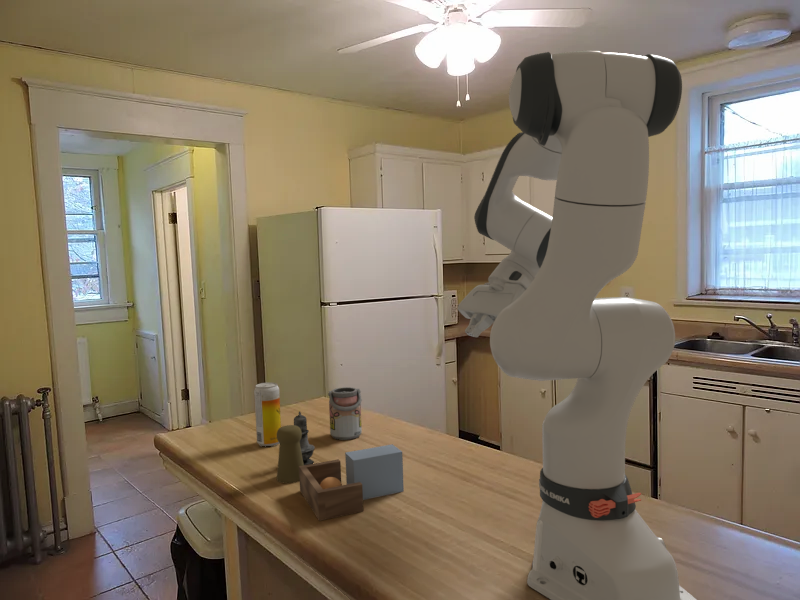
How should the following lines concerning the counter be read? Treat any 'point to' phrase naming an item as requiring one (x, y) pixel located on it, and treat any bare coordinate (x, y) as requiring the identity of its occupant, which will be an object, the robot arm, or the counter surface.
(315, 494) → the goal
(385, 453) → the block
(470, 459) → the counter surface
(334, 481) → the ball
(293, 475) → the olive pawn
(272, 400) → the beer can
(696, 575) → the counter surface
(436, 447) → the counter surface
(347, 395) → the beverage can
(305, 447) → the grey chess bishop
